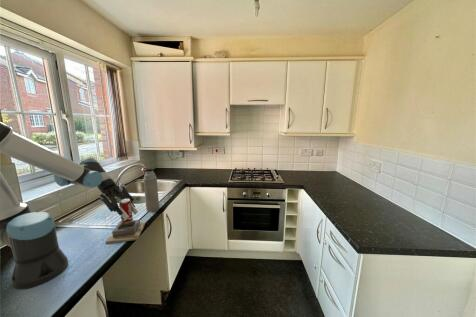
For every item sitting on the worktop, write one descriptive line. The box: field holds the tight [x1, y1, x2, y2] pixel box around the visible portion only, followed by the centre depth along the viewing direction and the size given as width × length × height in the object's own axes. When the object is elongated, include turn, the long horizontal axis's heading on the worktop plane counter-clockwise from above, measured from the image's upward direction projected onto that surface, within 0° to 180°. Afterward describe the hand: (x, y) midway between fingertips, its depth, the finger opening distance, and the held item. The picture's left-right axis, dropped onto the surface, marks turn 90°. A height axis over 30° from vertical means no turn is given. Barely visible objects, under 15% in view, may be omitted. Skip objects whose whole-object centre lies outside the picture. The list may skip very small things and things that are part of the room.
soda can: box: [118, 199, 134, 224], centre depth 99 cm, size 5×5×12 cm
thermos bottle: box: [143, 168, 160, 212], centre depth 125 cm, size 8×8×28 cm
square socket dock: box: [105, 219, 146, 244], centre depth 100 cm, size 16×14×4 cm
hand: (131, 215), depth 98 cm, fingers closed on soda can, 5 cm apart
